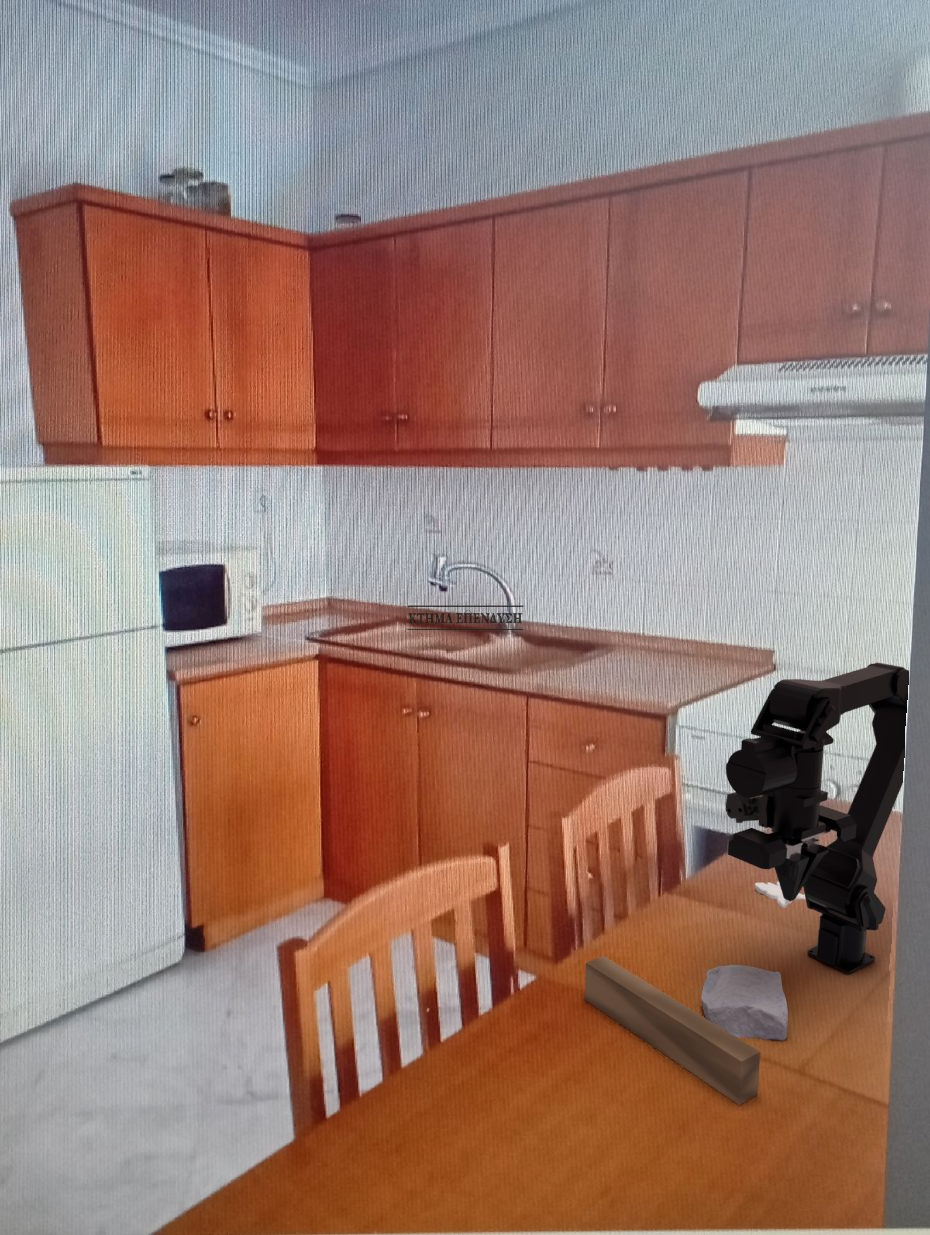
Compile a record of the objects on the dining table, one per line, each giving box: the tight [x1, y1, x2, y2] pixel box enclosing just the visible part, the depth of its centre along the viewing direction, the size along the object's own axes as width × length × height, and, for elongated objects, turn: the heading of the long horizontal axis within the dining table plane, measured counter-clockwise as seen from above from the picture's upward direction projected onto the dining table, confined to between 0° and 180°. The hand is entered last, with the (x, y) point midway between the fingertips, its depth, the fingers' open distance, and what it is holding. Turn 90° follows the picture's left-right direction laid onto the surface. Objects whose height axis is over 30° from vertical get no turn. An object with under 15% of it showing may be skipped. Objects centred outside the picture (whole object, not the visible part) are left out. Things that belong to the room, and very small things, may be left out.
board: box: [584, 955, 761, 1106], centre depth 109 cm, size 3×24×5 cm, turn 35°
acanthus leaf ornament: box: [754, 880, 806, 909], centre depth 148 cm, size 8×7×2 cm
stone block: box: [700, 964, 789, 1042], centre depth 116 cm, size 12×5×10 cm
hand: (789, 899), depth 120 cm, fingers closed
